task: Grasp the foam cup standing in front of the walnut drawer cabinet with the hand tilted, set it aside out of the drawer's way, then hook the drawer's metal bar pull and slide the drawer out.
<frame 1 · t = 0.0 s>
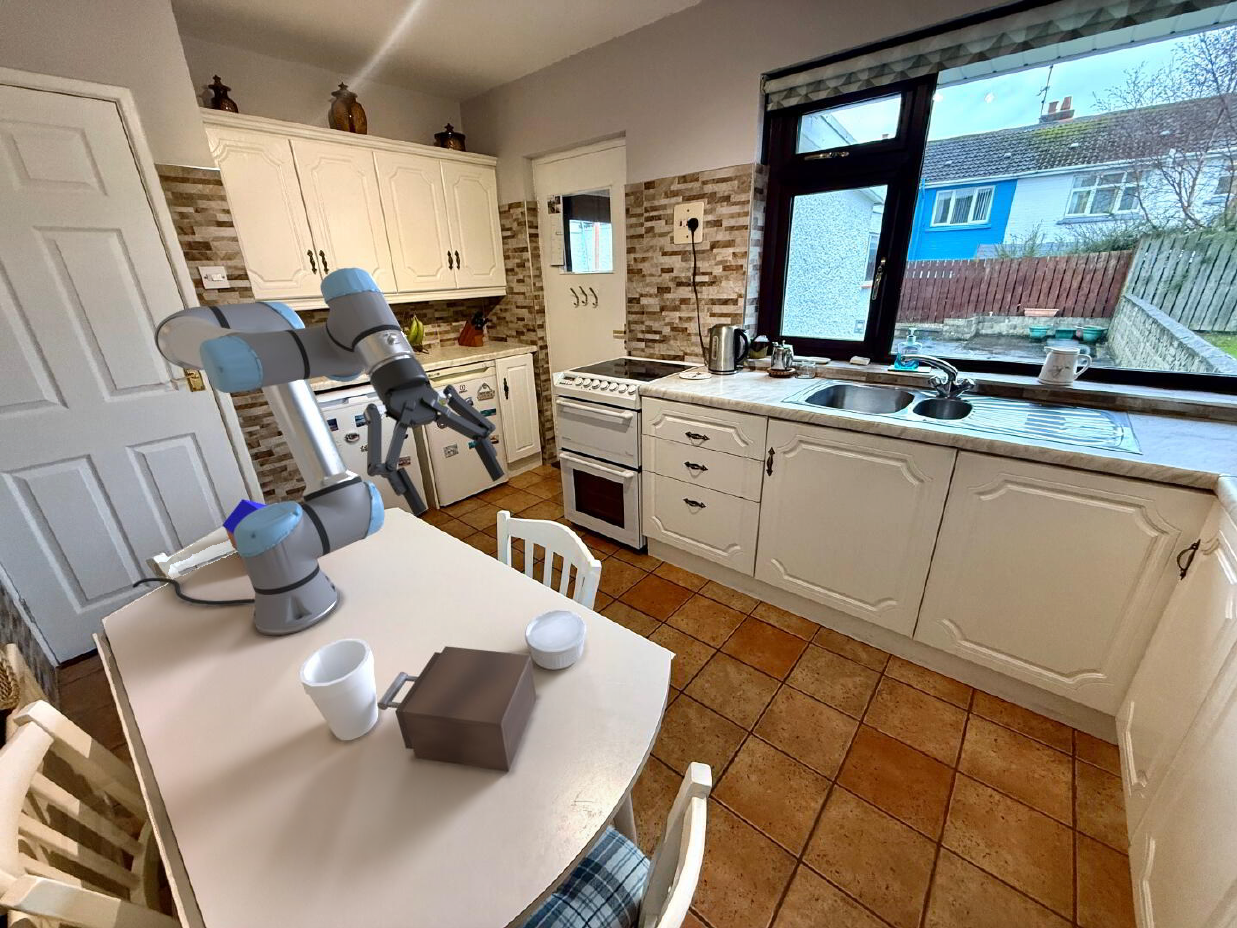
hand: (462, 494, 71), 36 cm above the table, tool tilted 35°, fingers open, 13 cm apart
foam cup: (356, 723, 78), on the table
drawer: (445, 700, 75), point 5 cm above the table, slide at 0.5 cm
cabinet: (479, 726, 76), on the table
ramekin: (557, 652, 90), on the table
house: (272, 549, 126), on the table
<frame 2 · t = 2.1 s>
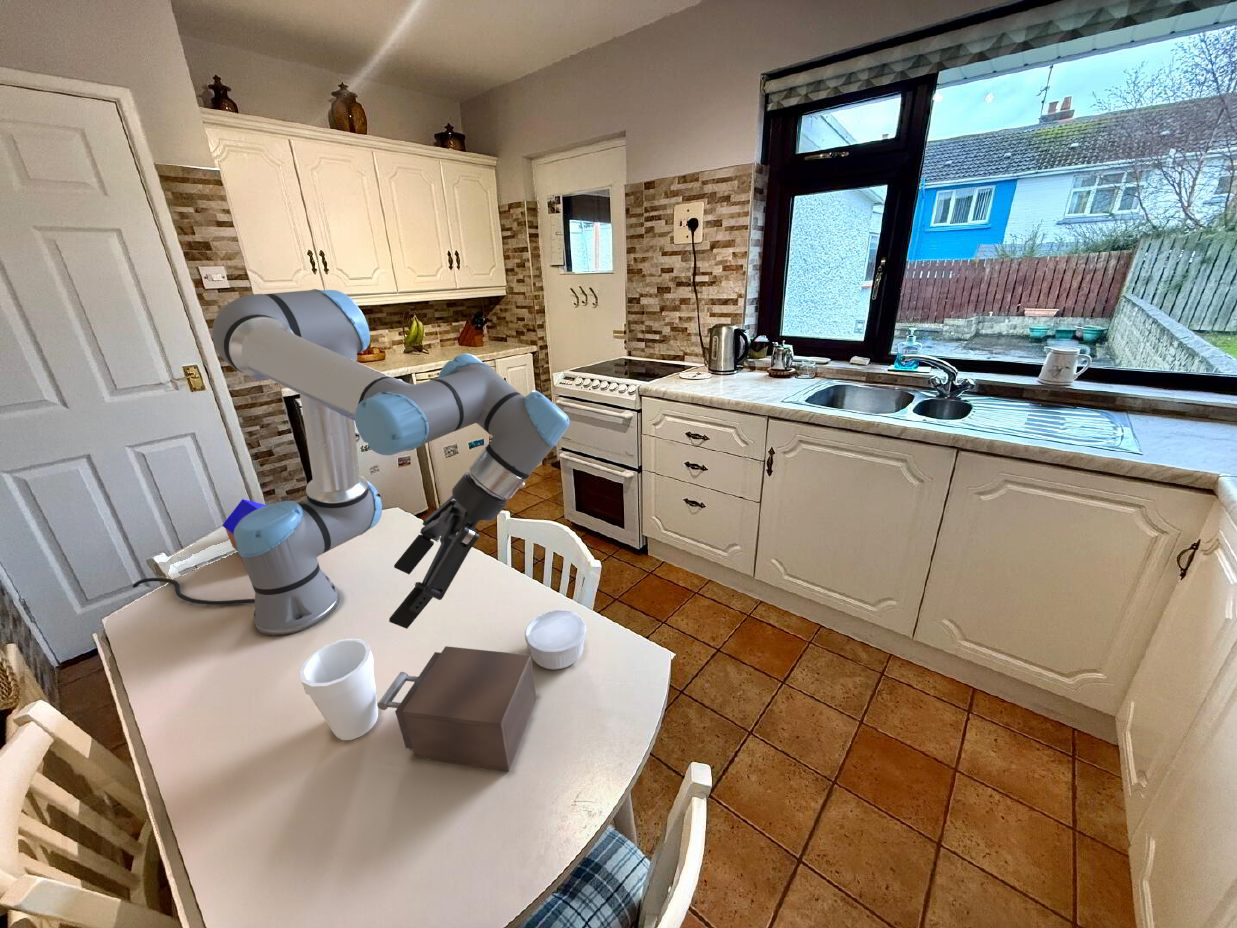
hand: (399, 594, 72), 22 cm above the table, tool tilted 45°, fingers open, 13 cm apart
nothing on the table moved.
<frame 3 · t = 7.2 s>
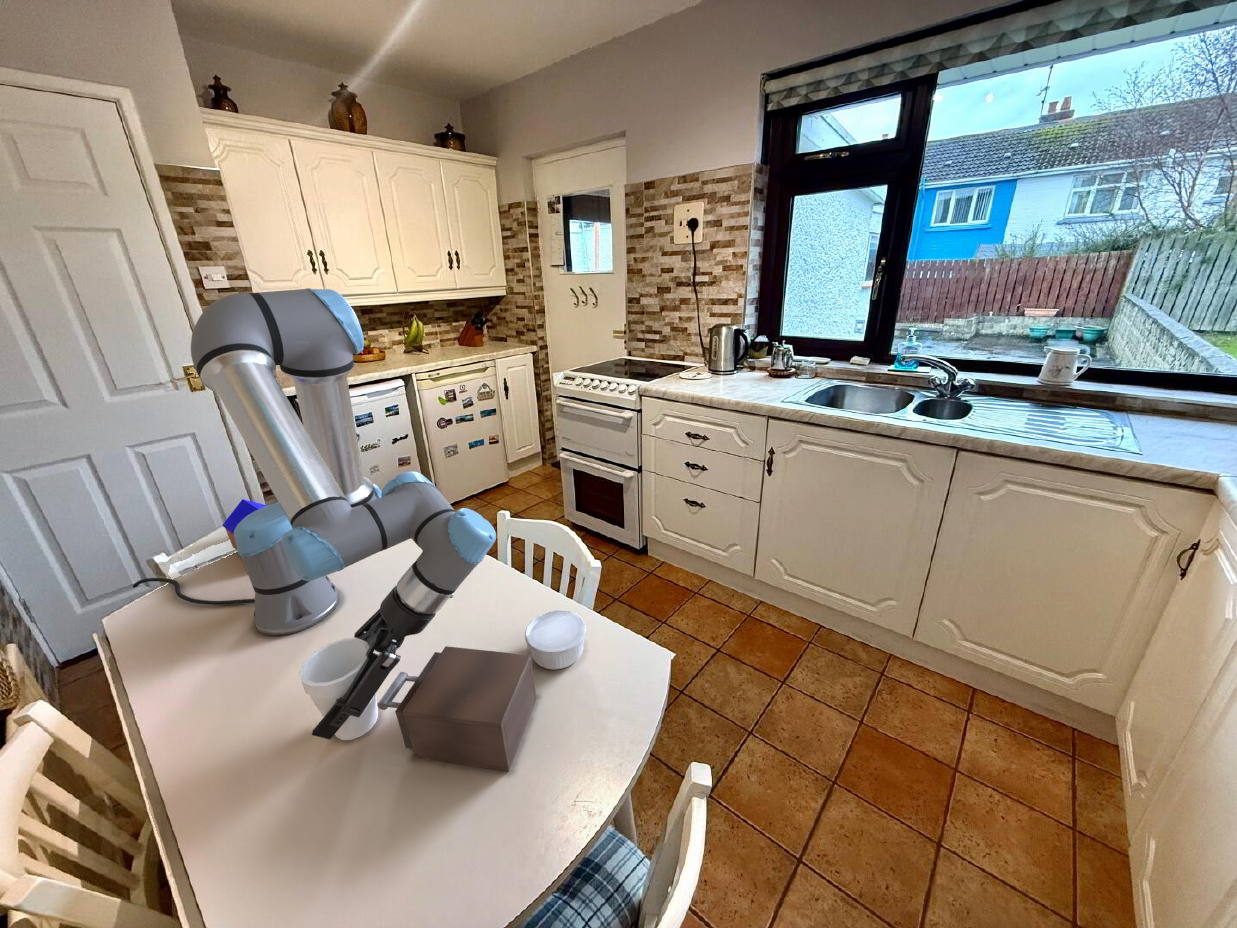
hand: (327, 707, 75), 5 cm above the table, tool tilted 45°, fingers closed on foam cup, 9 cm apart
foam cup: (356, 723, 78), on the table, touching gripper
everything else where it was.
when the fingers open (5 cm above the table, at t = 14.6 s): foam cup stays where it is, on the table.
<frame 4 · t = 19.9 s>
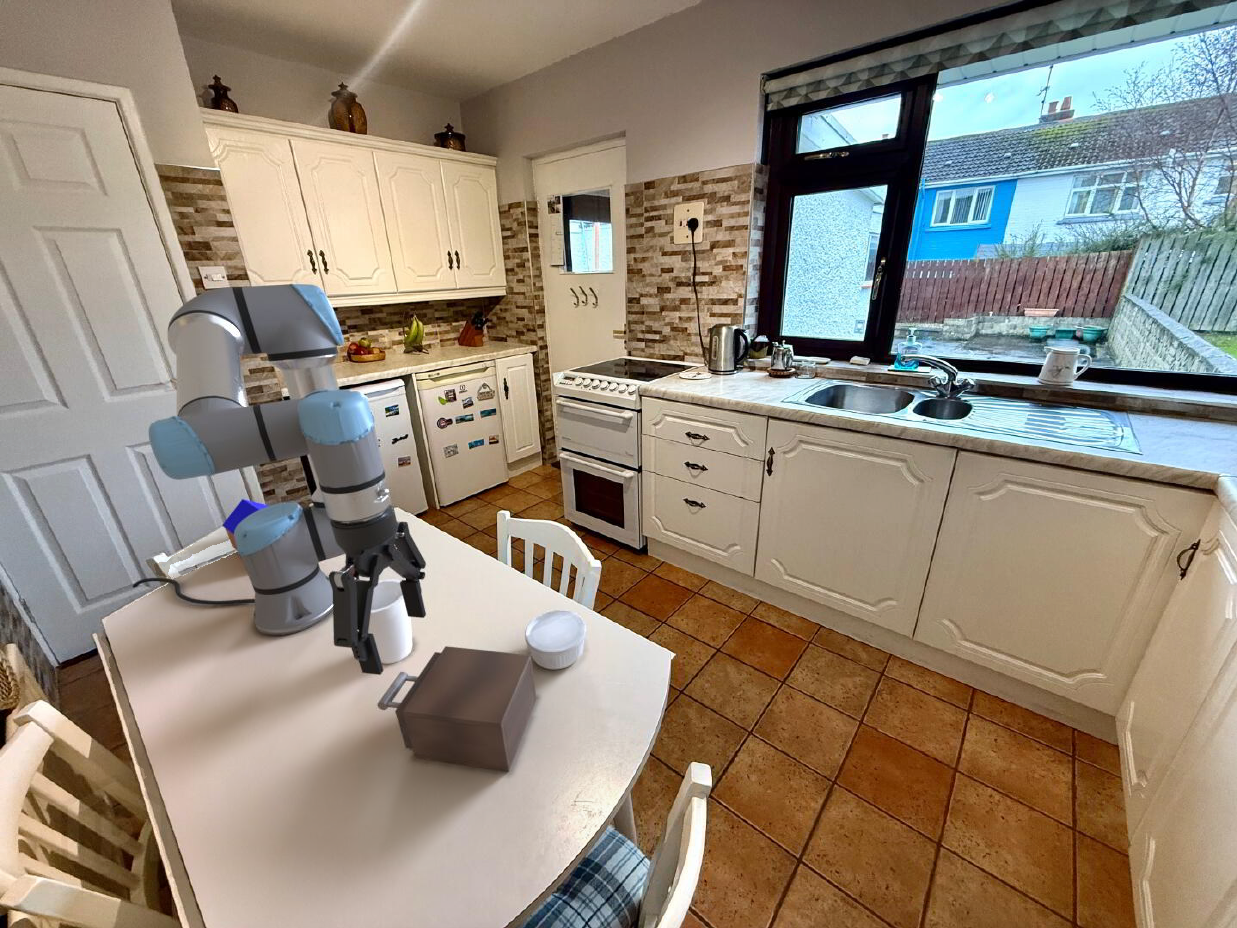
hand: (396, 641, 72), 16 cm above the table, tool pointing down, fingers open, 11 cm apart
foam cup: (394, 651, 92), on the table
everything else where it was.
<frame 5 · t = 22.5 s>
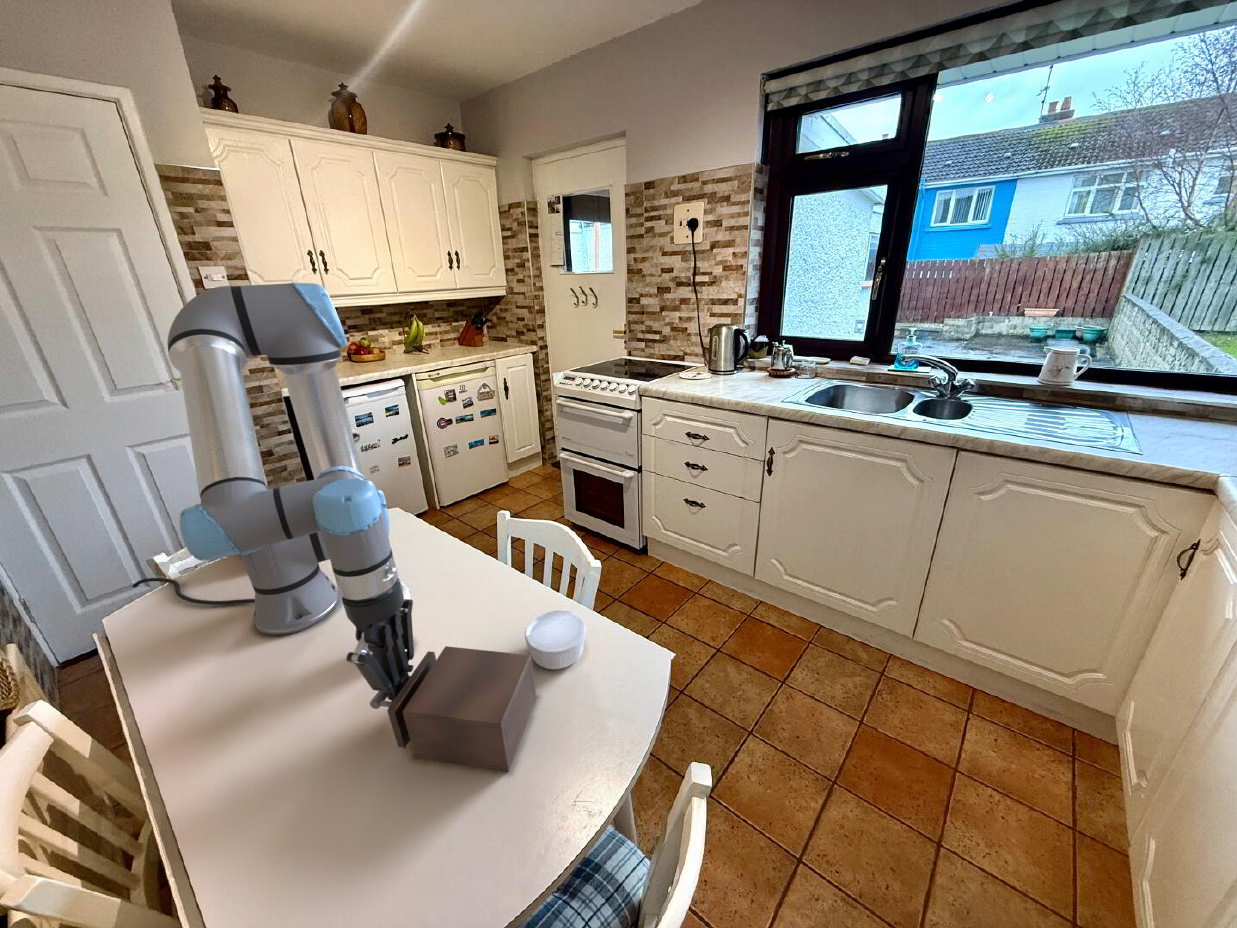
hand: (404, 706, 77), 2 cm above the table, tool pointing down, fingers closed
drawer: (437, 699, 75), point 5 cm above the table, slide at 1.8 cm, touching gripper
everything else where it was.
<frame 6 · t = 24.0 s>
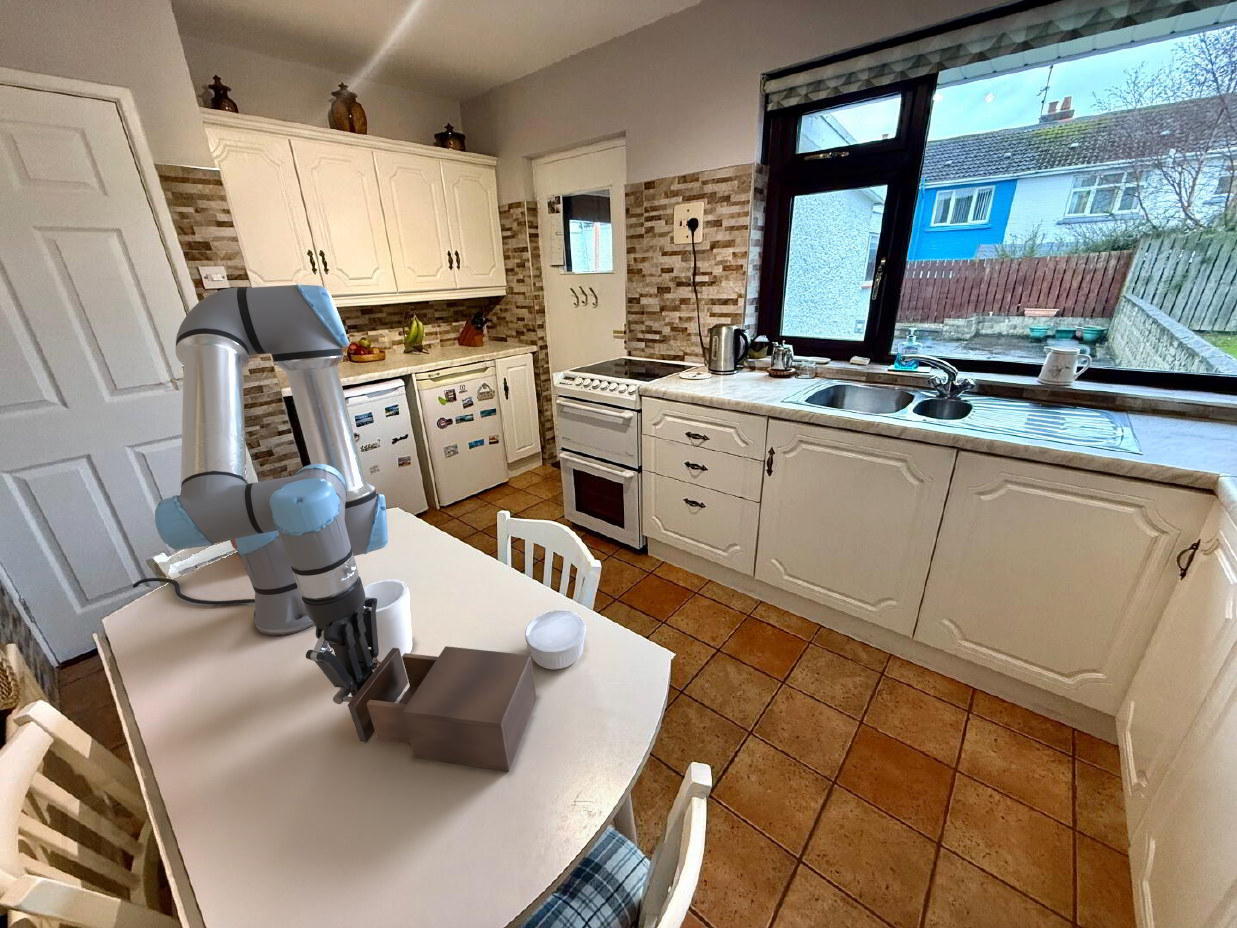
hand: (368, 703, 78), 2 cm above the table, tool pointing down, fingers closed
drawer: (400, 695, 76), point 5 cm above the table, slide at 8.1 cm
everything else where it was.
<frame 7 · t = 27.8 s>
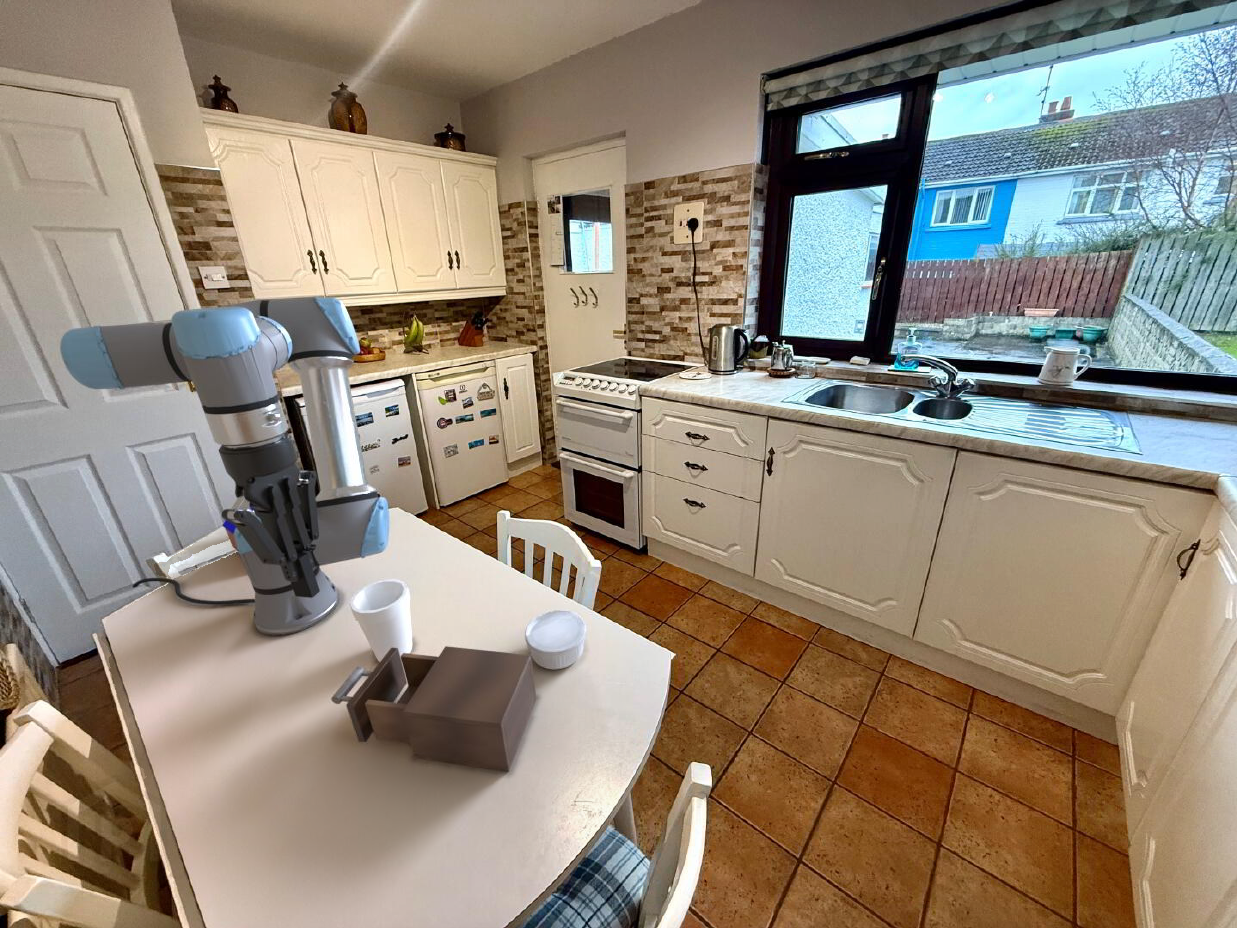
hand: (307, 593, 69), 24 cm above the table, tool pointing down, fingers closed
nothing on the table moved.
at the end: drawer slide at 8.3 cm; foam cup inside the target area (0.1 cm from its centre), on the table; foam cup tilted 0° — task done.
